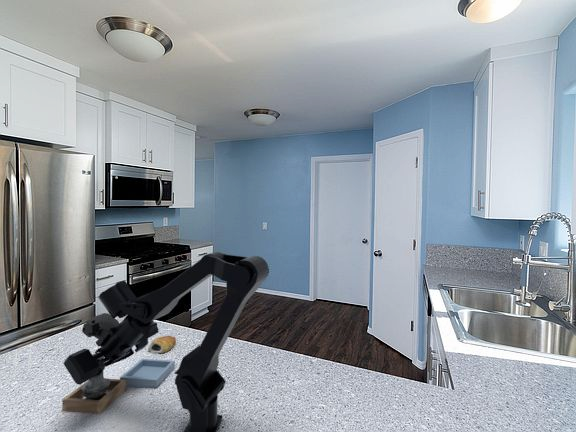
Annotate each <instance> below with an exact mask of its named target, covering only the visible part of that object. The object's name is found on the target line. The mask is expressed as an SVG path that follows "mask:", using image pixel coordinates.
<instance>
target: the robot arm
mask: <svg viewBox="0 0 576 432" xmlns="http://www.w3.org/2000/svg"><path fill="white" fill-rule="evenodd" d="M269 274H270V268H269V264H268V262H267V261H266V260H265V259H264V258H263V257H262V256H260V255H252V256H249V257H247V256H243V255H235V254H226V253H222V252H219V251H214V252H210V253H207V254H204V255H203V256H202V257H201V258H200V259H199V260H198V261H197V262H195V263H194V264H193V265H191V266H190V267H189V268H187V269H186V270H185V271H183V272H182V273H181V274H179V275H178V276H177V277H175V278H174V279H173V280H171V281H170V282H168V283H167V284H166V285H164V286H163V287H159V289H156V290H154V291H151V292H149V293H147V294H143V295H140V296H138V297H137V296H136V295H135V293H134V292H133V291H132V290H131V288H130V287H129V284H128V283H127V281H126V280H121V281H117V282H116V283H115V284H114V285H111V286H110V287H108V288H107V289H106V290H104V291H102V292H101V293H100V294H99V295H98V300H99V301H100V303H101V304H102V305H103V306H104V308H105V310H107V312H108V313H107V312H104V313H101V314H97V315H95V316H92V317H91V318H90V319H88V320H87V321H86V322H85V323H84V324H83V326H82V329H81V332H82V334H84V335H85V336H86V337H88V338H92V337H94V338H95V339H97V340H96V341H95V344H96V345H97V347H98V348H97V349H96V350H97V353H99V354H97V355H94V356H93V354H92V353H91V352H92V351H90V349H88V348H82V349H79V350H78V351H76V352H74V353H72V354H69V355H68V356H67V357H66V358H65V359H64V362H63V365H64V367H65V368H66V370H67V372H68V373H69V375H70V377H71V378H72V380H73V381H74V383H75V384H76V385H79V386H81V385H83V384H84V383H85V382H87V381H88V380H89V379H91V378H93V377H95V376H97V375H98V374H100V373H102V371H101V369H100V368H102V367H103V366H105V368H107V367H109V366H112V365H113V364H116V363H119V362H121V361H123V360H126V359H127V358H130V357H131V356H133V355H134V354H135V353H138V352H140V351H142V350H143V349H145V348H146V347H147V345H148V344H149V338H151V337H153V336H154V335H157V334H158V333H159V332H160V331H159V327H158V323H157V322H155V320H157V319H159V318H162V317H163V316H166V315H168V314H170V312H171V311H173V309H174V308H175V307H176V306H177V304H178V303H179V301H180V300H181V298H182V297H184V296H185V295H186V294H188V293H189V292H191V291H192V290H193V289H195V288H196V287H198V286H199V285H200V284H202V283H204V282H205V281H206V280H207V279H209V278H210V277H211V276H215V277H216V278H218V279H219V280H220V281H223V282H226V287H225V289H226V292H225V297H224V298H223V300H222V302H221V304H220V306H219V309H217V312H216V314H215V316H214V318H213V320H212V321H211V324H210V326H209V328H208V330H207V332H206V334H205V336H204V338H203V339H202V341H201V343H200V345H198V346H196V347H195V348H194V349H192V350H191V351H189V352H188V353H187V354H186V355H184V356H183V357H182V359H181V361H180V364H179V367H178V368H177V370H176V371H174V375H175V378H174V385H176V391H177V393H178V397H179V401H180V403H181V404H180V405H181V407H182V409H184V410H187V411H188V413H189V422H188V423H187V426H186V427H185V428H184V431H183V432H218V429H219V427H220V425H221V423H222V420H223V417H224V416H223V415H221V414H218V406H219V405H218V403H219V402H218V401H219V400H218V398H219V397H218V396H219V394H220V393H221V392H222V391H223V390H224V387H225V385H226V383H227V382H226V379H225V377H223V376H222V374H221V373H220V372H219V370H218V367H219V365H220V364H219V362H220V361H219V359H220V358H219V356H220V353H221V351H222V349H223V347H224V345H225V344H226V343H227V342H226V341H227V340H228V338H229V336H230V334H231V332H232V331H233V328H234V327H235V324H236V323H237V321H238V319H239V317H240V315H241V313H242V311H243V309H244V308H245V306H246V303H247V302H248V301H249V299H250V298H251V297H252V296H253V295H254V294H255V293H256V292H257V290H259V288H260V287H261V286H262V285H263V283H264V282H265V281H266V279H268V276H269ZM116 318H119V319H122V318H123V319H122V321H120V322H119V320H118V319H116ZM133 347H135V349H133ZM102 358H103V359H102ZM100 359H101V360H100Z"/></svg>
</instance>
